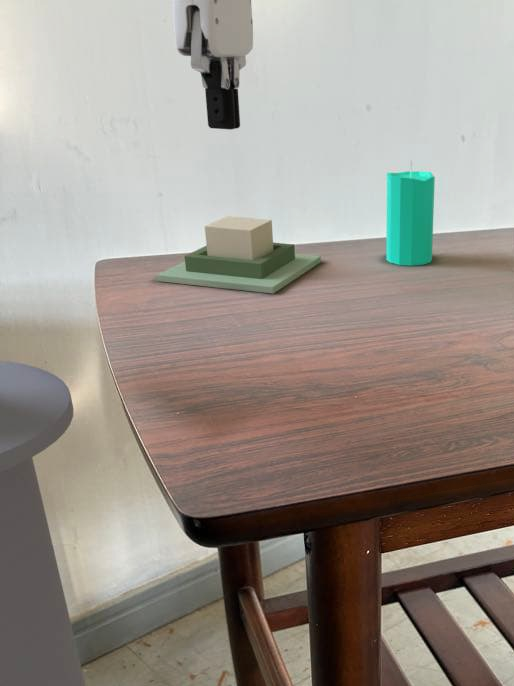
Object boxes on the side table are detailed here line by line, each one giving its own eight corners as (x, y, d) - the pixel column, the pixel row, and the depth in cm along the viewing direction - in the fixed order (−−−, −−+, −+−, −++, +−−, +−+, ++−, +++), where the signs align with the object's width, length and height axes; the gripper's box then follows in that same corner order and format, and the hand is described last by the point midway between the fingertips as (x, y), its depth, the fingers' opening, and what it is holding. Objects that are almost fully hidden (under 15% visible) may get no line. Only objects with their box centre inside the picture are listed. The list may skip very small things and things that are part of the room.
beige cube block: (253, 273, 104) (250, 230, 102) (208, 268, 106) (204, 226, 103) (274, 261, 109) (271, 219, 107) (230, 257, 111) (227, 216, 108)
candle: (387, 265, 112) (388, 164, 105) (385, 253, 117) (385, 157, 110) (434, 265, 112) (438, 165, 106) (429, 253, 117) (432, 157, 111)
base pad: (273, 293, 100) (272, 271, 99) (157, 281, 104) (154, 259, 102) (321, 262, 112) (320, 241, 111) (215, 252, 116) (213, 231, 115)
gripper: (211, -64, 96) (224, 120, 106) (138, -77, 84) (160, 132, 93) (274, -63, 94) (281, 124, 104) (208, -77, 82) (224, 137, 91)
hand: (224, 127), depth 98 cm, fingers closed
